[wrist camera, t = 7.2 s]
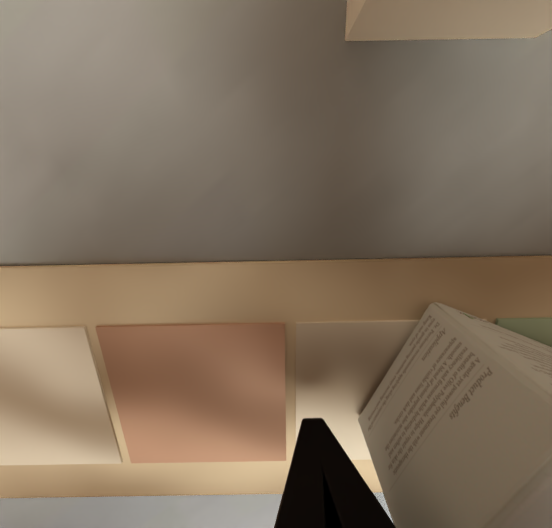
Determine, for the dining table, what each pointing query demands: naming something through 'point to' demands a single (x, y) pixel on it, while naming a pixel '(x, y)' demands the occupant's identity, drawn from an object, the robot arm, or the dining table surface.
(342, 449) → the robot arm
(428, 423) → the small box
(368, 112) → the dining table surface
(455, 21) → the die
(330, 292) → the game board
